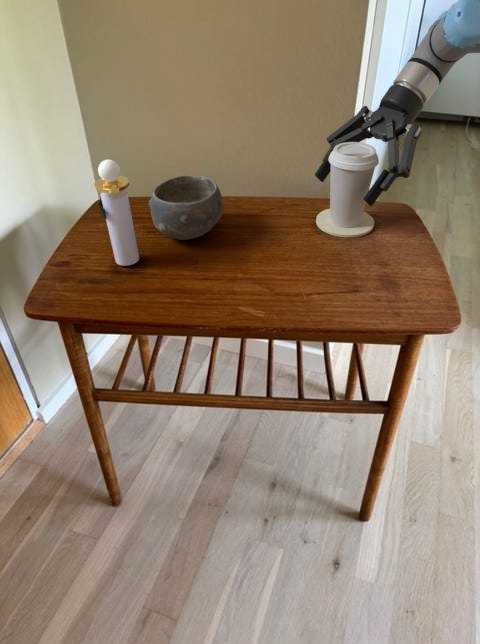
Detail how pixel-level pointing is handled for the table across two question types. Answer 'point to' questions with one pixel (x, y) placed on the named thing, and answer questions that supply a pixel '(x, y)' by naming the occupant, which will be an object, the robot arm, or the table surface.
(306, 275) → the table surface
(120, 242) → the perfume bottle
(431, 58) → the robot arm
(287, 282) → the table surface
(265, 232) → the table surface
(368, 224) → the cream mat
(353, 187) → the coffee cup
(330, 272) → the table surface
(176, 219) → the bowl
